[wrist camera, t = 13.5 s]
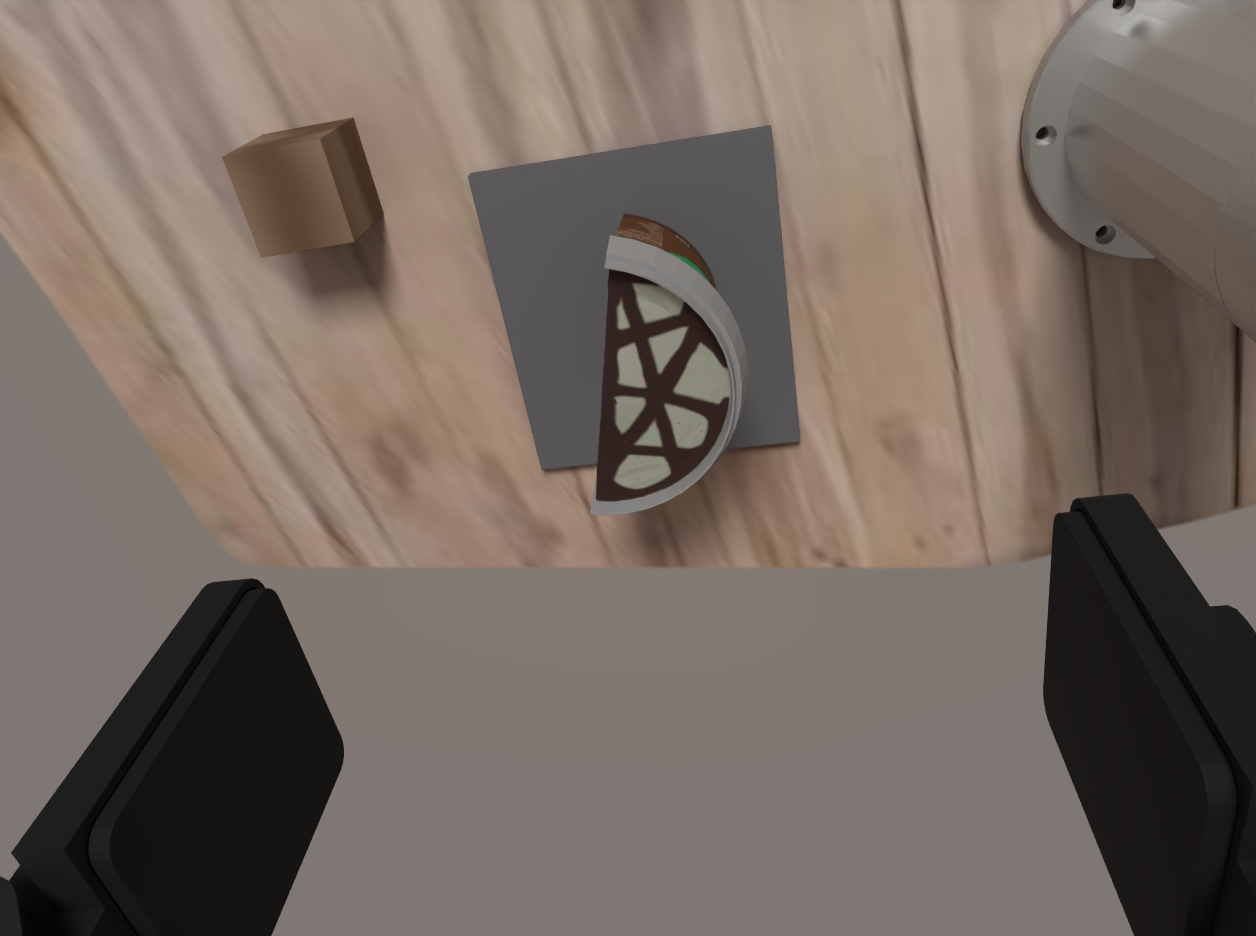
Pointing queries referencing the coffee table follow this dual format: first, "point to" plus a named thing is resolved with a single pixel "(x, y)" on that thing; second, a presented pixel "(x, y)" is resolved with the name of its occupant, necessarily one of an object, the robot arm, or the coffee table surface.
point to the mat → (578, 282)
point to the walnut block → (305, 187)
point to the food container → (663, 370)
